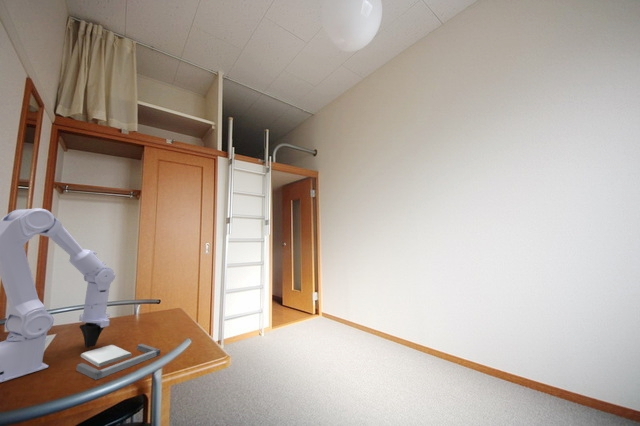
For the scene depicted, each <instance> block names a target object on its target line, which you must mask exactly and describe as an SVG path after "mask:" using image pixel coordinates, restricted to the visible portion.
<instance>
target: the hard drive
mask: <svg viewBox="0 0 640 426" xmlns="http://www.w3.org/2000/svg"><path fill="white" fill-rule="evenodd" d="M80 357H81V358H82V359H83V360H86V361H87V362H89V363H91V364H92V365H94V366H96V367H97V368H101V367H104V366H107V365H110V364H114V363H116V362H119V361H122V360H124V359H127V358H128V359H129V358H130V357H133V356H132V352H129V351H127V350H125V349H123V348H121V347H119V346H116V345H114V344H109V345H106V346H102V347H99V348H95V349H92V350H88V351H85V352H83V353H82V352H81V354H80Z"/></svg>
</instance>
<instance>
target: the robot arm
mask: <svg viewBox="0 0 640 426" xmlns="http://www.w3.org/2000/svg"><path fill="white" fill-rule="evenodd" d="M36 235H39V236H43V237H47V238H50V240H52V241H53V242H54V243H55V244H56V245H58V246H59V247H60V248H61V249H62V250H63V251H64V252H66V254H68V255H69V260H68V261H69V262H68V263H70V264H71V265H72V266H73V267H74V268H75V269H76V270H78V271H79V272H80V273H81V275H83V280H84V281H85V282H87V286H86V292H85V293H86V294H85V299H84V306H83V312H82V314H79V318H78V321H79V322H82V323H84V324H80V325H79V329H80V331H81V332H82V335H83V336H82V337H83V341H84V347H85V348H87V349H89V348H93V347H95V346H96V345H97V342H98V340H99V337H100V335H101V334H102V331H103V330H104V328H106V327H109V326H110V322H111V320H110V319H109V317H110V314H108V313H107V310H108V309H107V307H108V300H109V293H110V287H111V284H112V282H113V281H114V280H115V279H116V274H115V273H114V269H112V268H110V267H106V264H107V263H105V262H104V261H102V260H101V259H99V258H98V257H97V252H96V251H95V250H90V249H86V248H85V249H84V248H83V247H82V246H81V245H80V244H79V243H78V241H77V240H76V239H75V238H74V237H73V236H72V235H71V233H70V232H69V231H68V230H67V228H65V227H64V225H63V224H62V222H61V220H60V219H58V218H57V217H54V214H53V213H52V212H51V211H49V210H48V209H44V208H39V207H37V208H36V207H35V208H28V209H27V208H21V209H20V208H18V209H15V210H13V211H11V212H9V213H8V214H6V215H4V216H3V217H2V218H0V280H1V284H2V287H3V289H4V293H5V297H6V300H7V303H8V308H7V309H6V320H5V321H4V327H5V329H6V331H7V332H9V333H8V335H7V337H6V339H5V340H3V341H0V383H2V382H3V383H4V382H7V381H9V380H13V379H16V378H19V377H23V376H25V375H28V374H32V373H34V372H38V371H41V370H45V369H47V368H49V364H46V362H43V360H44V359H43V358H44V354H45V347H46V342H47V337H48V335H47V334H48V331H50V330H51V328H52V327H53V325H54V323H55V322H54V321H55V318H54V316H53V314H52V313H50V312H48V311H47V309H46V308H47V307H46V306H45V305H44V304H43V302H42V301H41V300H40V299H39V296H38V292H37V289H36V286H35V281H34V278H33V274H32V270H31V267H30V263H29V261H28V260H29V259H28V256H27V253H26V250H25V244H26V243H27V242H29V241H30V240H31V239H32V238H33V237H35V236H36Z"/></svg>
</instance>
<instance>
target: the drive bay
mask: <svg viewBox="0 0 640 426" xmlns="http://www.w3.org/2000/svg"><path fill="white" fill-rule="evenodd" d="M136 350H137V351H140V352H143V354H140V355H137V356H134V357H132V358H128V359H127V360H124V361H121V362H118V363H116V364H113V365H111V366H107V367H105V368H102V369H97V368H95V367H93V366H91V365H89V364H87V363H84V362H81V363H78V364H76V371H77V372H78V373H80V374H83V375H84V376H86V377H89V378H91V379H93V380H95V381H96V380H99V379H102V378H104V377H108V376H111V375H113V374H116V373H118V372H120V371H123V370H125V369H128V368H130V367H133V366H136V365H138V364H141V363H144V362H146V361H148V360H150V359H154V358H156V357H158V356H160V355H161V349H159V348H156V347H153V346H149V345H147V344H144V343H139V344H137V345H136Z"/></svg>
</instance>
